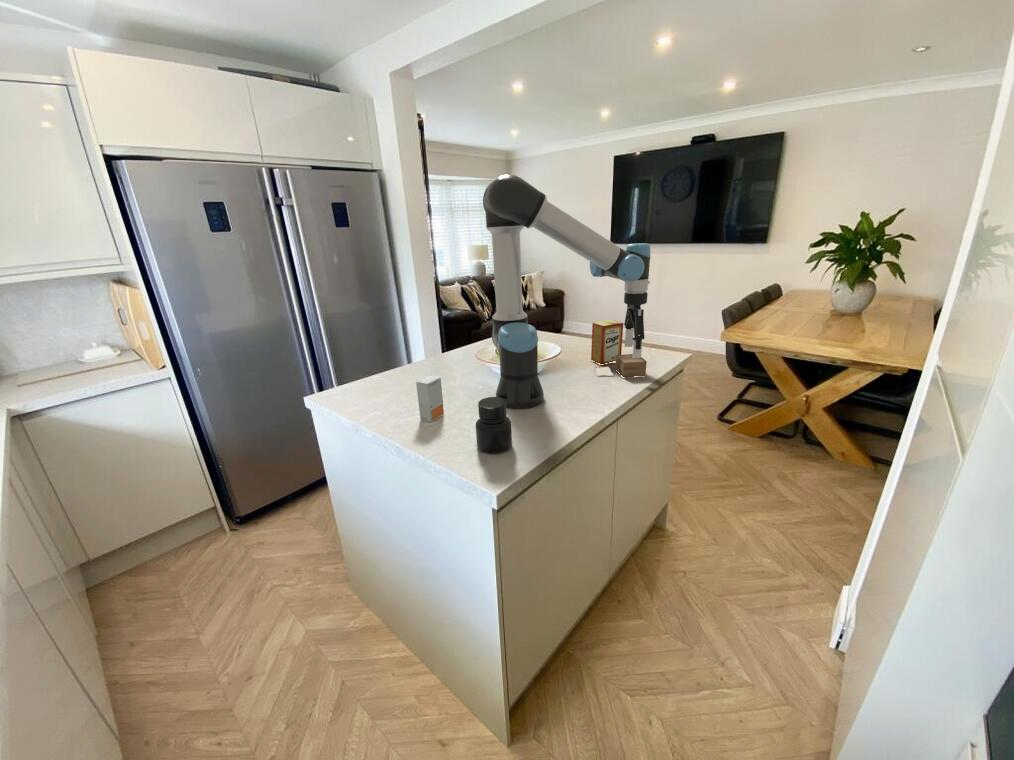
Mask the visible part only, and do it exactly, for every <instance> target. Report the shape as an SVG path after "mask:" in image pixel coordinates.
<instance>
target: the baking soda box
mask: <svg viewBox="0 0 1014 760" xmlns="http://www.w3.org/2000/svg"><path fill="white" fill-rule="evenodd" d="M623 331H624V322H621V321H618V320H614V319H609V320H607V319H606V320H602V321H597V322H592V328H591V353H590V354H591V356H590V361H591V360H593V361H595V362H597V363H600V364H605V363H609V362H613V361H616V355H622V348H623V337H624V336H623Z"/></svg>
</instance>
